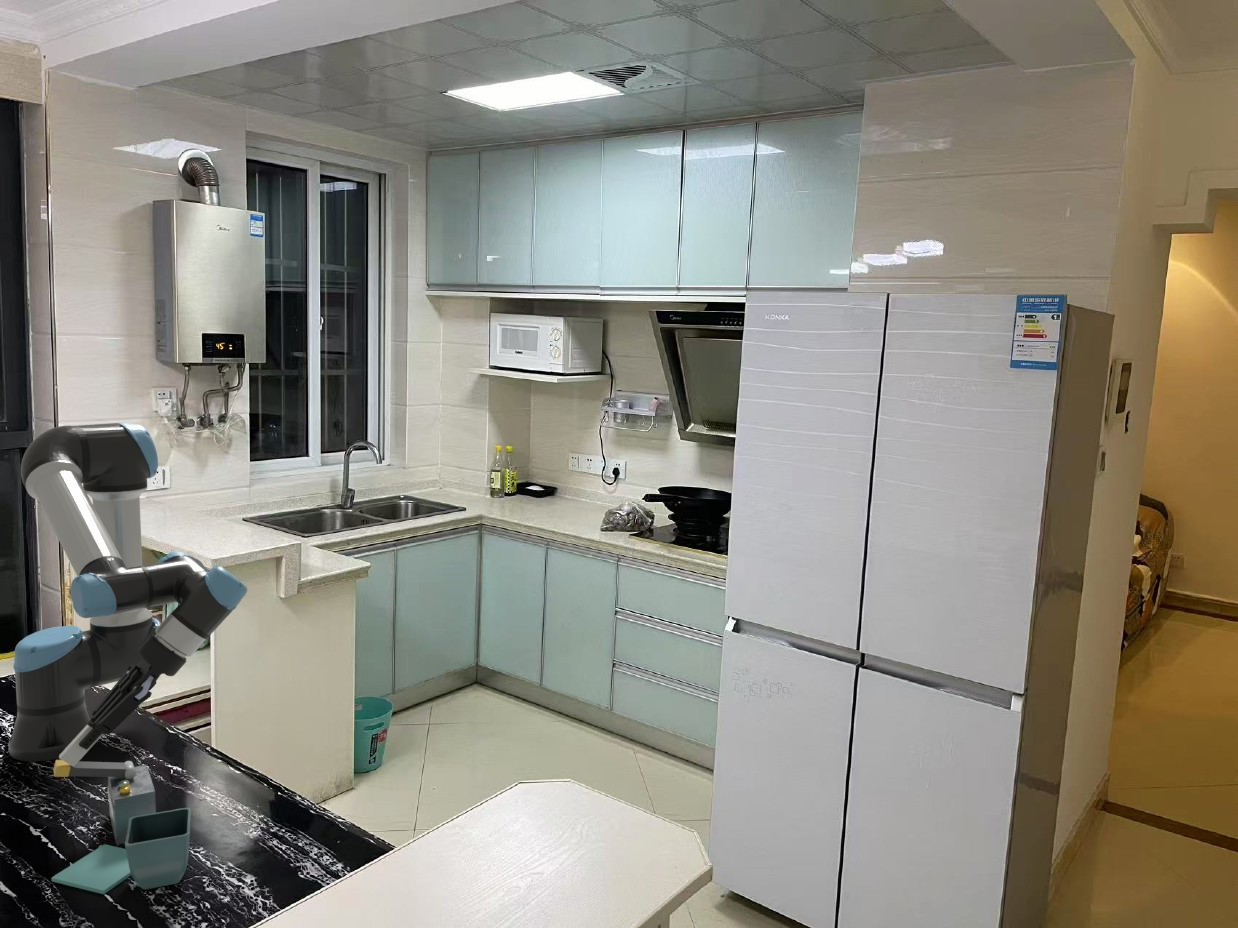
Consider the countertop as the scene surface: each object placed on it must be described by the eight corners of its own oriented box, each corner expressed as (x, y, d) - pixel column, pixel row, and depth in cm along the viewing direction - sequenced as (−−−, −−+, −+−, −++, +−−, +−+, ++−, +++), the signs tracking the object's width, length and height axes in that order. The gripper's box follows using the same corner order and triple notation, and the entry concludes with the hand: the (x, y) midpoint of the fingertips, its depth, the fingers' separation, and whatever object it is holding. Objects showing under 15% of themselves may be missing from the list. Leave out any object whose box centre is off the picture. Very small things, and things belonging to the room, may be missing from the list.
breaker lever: (134, 760, 161) (55, 758, 155) (136, 770, 158) (56, 768, 151) (131, 769, 161) (53, 767, 155) (134, 779, 158) (54, 777, 151)
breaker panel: (148, 806, 165) (146, 760, 163) (156, 835, 156) (154, 786, 154) (108, 815, 161) (106, 768, 160) (115, 845, 152) (112, 795, 151)
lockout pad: (104, 847, 152) (104, 844, 152) (154, 859, 149) (154, 855, 149) (51, 881, 142) (51, 877, 142) (103, 894, 139) (103, 890, 139)
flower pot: (126, 901, 138) (124, 845, 137) (131, 869, 146) (129, 816, 145) (191, 888, 141) (189, 834, 140) (192, 858, 149) (191, 806, 148)
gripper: (195, 668, 157) (89, 787, 150) (182, 647, 167) (82, 758, 160) (158, 643, 153) (48, 764, 146) (147, 624, 164) (44, 735, 157)
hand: (66, 760), depth 153 cm, fingers closed
